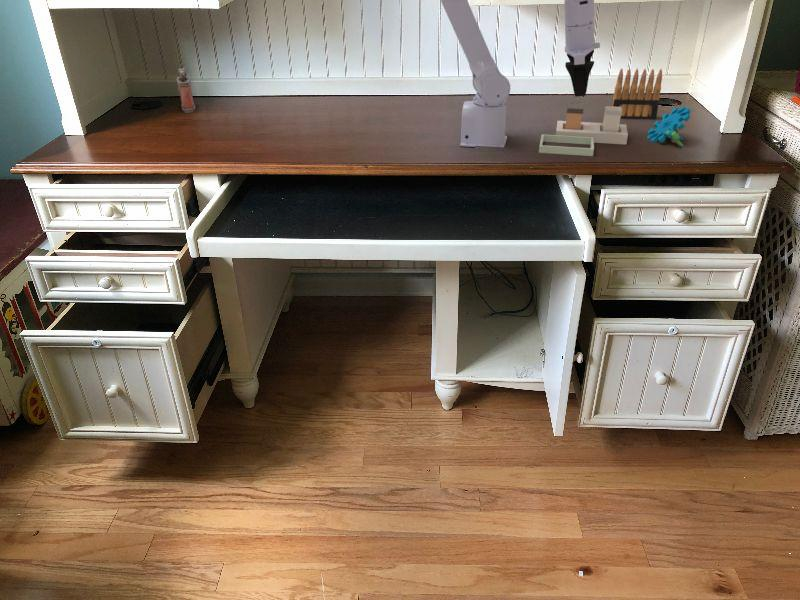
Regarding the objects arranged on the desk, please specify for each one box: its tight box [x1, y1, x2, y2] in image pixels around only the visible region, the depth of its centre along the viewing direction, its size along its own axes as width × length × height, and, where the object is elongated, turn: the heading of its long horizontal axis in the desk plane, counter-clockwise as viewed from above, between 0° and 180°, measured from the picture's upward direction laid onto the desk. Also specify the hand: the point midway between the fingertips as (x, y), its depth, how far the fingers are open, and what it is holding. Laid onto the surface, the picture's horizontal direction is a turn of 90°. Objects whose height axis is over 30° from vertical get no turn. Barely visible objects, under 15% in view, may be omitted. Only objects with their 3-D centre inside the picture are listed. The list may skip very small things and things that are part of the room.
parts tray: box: [538, 133, 595, 157], centre depth 136 cm, size 11×8×2 cm
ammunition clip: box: [611, 68, 663, 120], centre depth 152 cm, size 11×2×12 cm, turn 82°
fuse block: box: [555, 120, 629, 146], centre depth 142 cm, size 15×8×3 cm, turn 76°
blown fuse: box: [565, 103, 585, 130], centre depth 142 cm, size 3×3×6 cm
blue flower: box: [647, 105, 692, 147], centre depth 139 cm, size 11×6×10 cm
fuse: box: [602, 105, 622, 132], centre depth 140 cm, size 3×3×6 cm
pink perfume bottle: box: [176, 68, 196, 113], centre depth 167 cm, size 8×3×10 cm, turn 17°
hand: (580, 90), depth 138 cm, fingers open, 7 cm apart
